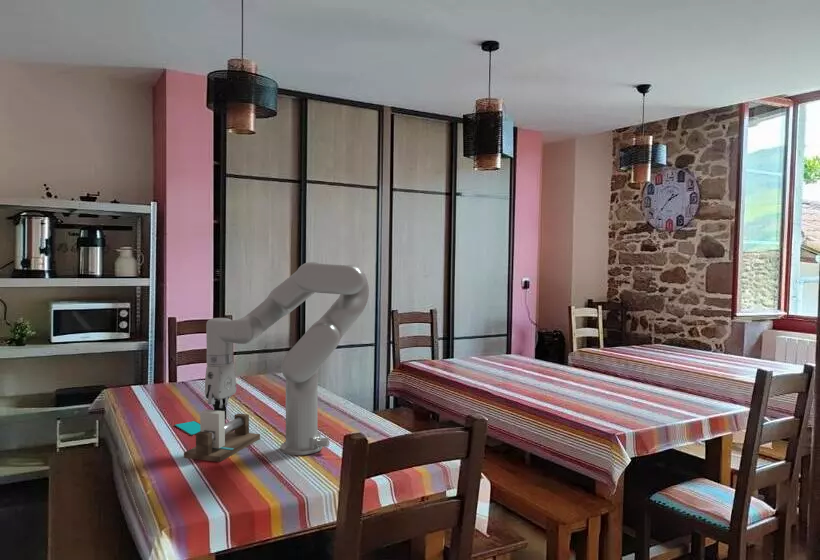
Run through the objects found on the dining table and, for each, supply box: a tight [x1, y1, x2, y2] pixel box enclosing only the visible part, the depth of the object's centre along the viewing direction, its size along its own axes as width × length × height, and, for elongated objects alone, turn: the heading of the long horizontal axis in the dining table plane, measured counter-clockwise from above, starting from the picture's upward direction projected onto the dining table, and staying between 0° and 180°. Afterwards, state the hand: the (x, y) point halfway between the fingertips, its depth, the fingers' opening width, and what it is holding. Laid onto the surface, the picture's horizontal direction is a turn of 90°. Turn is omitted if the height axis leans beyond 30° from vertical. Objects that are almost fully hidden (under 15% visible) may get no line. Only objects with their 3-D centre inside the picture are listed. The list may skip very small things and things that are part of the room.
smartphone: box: [173, 420, 200, 437], centre depth 199 cm, size 7×1×15 cm
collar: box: [199, 409, 226, 448], centre depth 174 cm, size 6×3×10 cm, turn 74°
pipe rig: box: [183, 413, 261, 463], centre depth 180 cm, size 12×22×8 cm, turn 164°
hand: (220, 419), depth 178 cm, fingers closed
